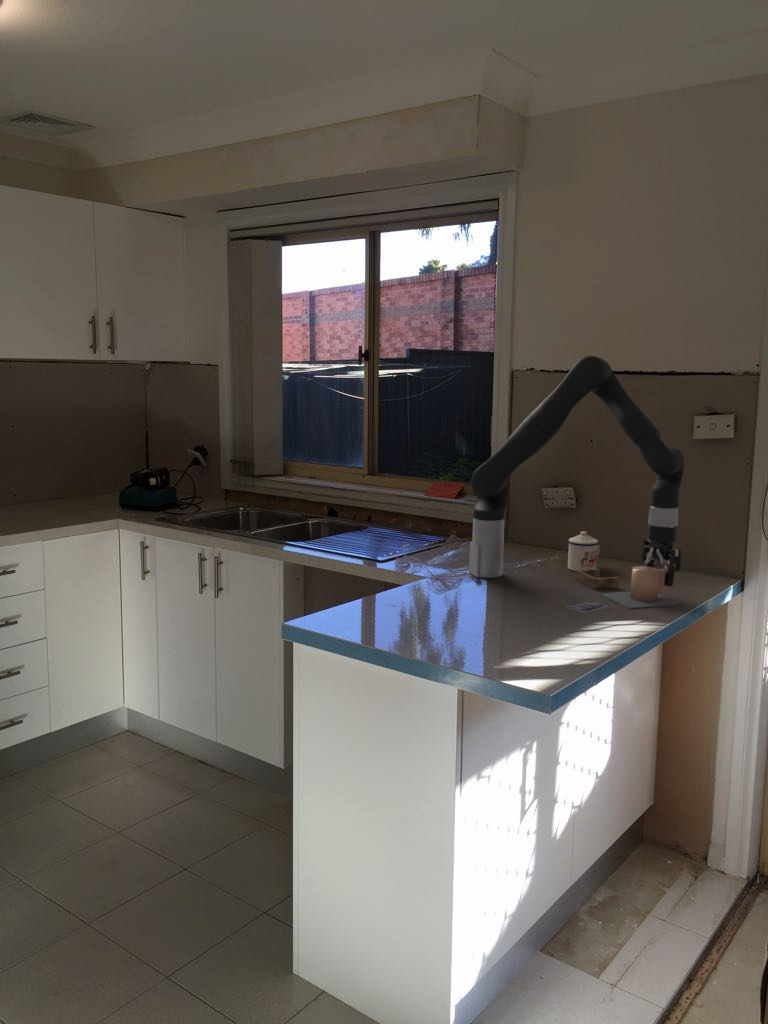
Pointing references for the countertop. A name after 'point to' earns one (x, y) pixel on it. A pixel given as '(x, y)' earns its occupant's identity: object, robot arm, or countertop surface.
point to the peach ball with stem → (647, 583)
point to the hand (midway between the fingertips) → (658, 581)
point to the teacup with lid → (582, 552)
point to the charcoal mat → (630, 603)
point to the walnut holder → (595, 579)
